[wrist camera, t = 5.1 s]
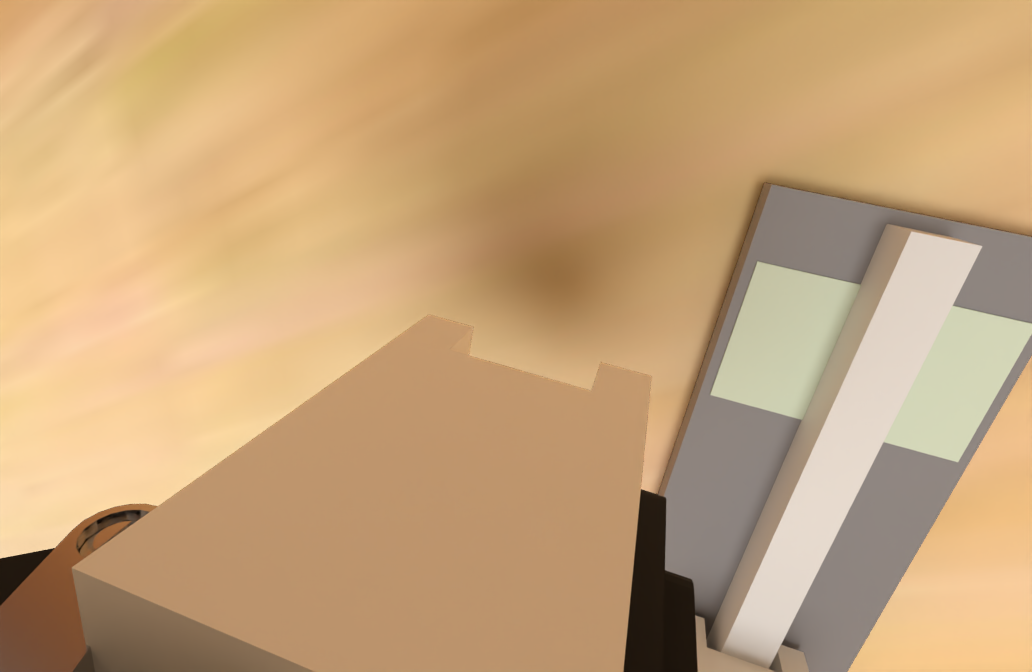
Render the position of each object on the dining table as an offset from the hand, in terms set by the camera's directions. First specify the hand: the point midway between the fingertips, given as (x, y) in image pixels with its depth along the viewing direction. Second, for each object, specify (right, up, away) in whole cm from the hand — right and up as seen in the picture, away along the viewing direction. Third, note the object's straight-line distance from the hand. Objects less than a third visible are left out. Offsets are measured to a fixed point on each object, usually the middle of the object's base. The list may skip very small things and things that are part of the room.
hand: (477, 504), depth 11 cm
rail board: (+13, -3, +13) cm, 18 cm away
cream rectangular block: (+1, +1, +3) cm, 3 cm away
